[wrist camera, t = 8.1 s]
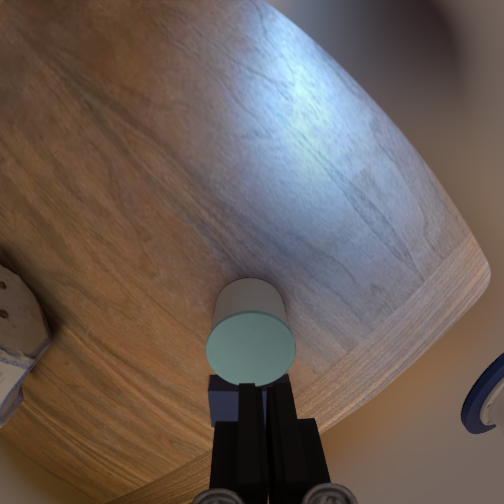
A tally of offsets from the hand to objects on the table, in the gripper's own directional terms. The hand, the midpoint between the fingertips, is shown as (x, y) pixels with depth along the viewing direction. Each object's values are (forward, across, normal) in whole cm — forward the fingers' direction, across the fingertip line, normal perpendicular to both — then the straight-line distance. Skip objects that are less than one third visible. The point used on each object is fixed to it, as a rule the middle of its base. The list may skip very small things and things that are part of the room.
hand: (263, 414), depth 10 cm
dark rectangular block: (+22, 0, +18) cm, 29 cm away
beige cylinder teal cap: (+21, 0, +11) cm, 23 cm away
